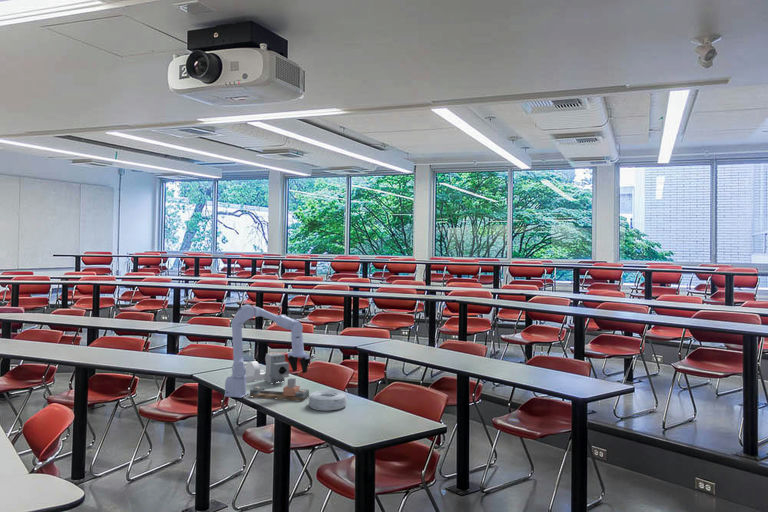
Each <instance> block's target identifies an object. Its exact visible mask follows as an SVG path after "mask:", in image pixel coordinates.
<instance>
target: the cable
mask: <svg viewBox="0 0 768 512" xmlns="http://www.w3.org/2000/svg"><path fill="white" fill-rule="evenodd" d="M308 399H309V400H308V406H309V407H310V409H313V410H316V411H325V412H326V411H334V410H335V411H336V410H337V411H338V410H340V409H344V408H345V407H346V405H347V403H348V399H347V395H346V393H345V391H342V390H339V389H330V388H329V389H328V388H327V389H322V390H321V389H320V390H317V391H313V392H312V393H309V397H308Z"/></svg>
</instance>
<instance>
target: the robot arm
mask: <svg viewBox="0 0 768 512" xmlns="http://www.w3.org/2000/svg"><path fill="white" fill-rule="evenodd" d="M253 317H255V318H257V317H262V318H265V319H268V320H270V321H273V322H275V325H276V326H278V327H281V328H283V329H285V330H290V332H291V333H290V334H291V335H290V340H291V351H290V352H287V362H288V363H289V366H291V369H292V370H291V371H292V373H293V372H297V371H298V360H299V363H300V365H301V366H300V367H301V373H302V374H306V373H307V372H308V367H309V363H310V361H311V358H310V357H311V356H310V354H309V353H306V351H305V348H304V346H305V345H304V335H303V329H304V327H303V324H302V323H301V322H300V321H299V320H297V319H295V318H292V317H288V316H287V315H286V314H279V315H277V314H275V313H273V312H270V311H267V310H265V309H264V308H261V307H259V306H255V305H251V304H243V305H242V306H241V307H239V308H238V309H237V312H236V314H235V315H234V316H233V319H231V333H232V355H233V364H232V365H231V366H232V367H231V371H232V372H231V373H232V374H231V375H230V376H227V377H226V379H225V383H224V395H223V396H224V397H227V398H228V397H230V398H239V399H240V398H241V399H243V398H244V397H246V396H248V395H250V392H247V383H246V375H245V374H246V369H245V368H246V364H245V363H244V353H243V351H244V350H243V349H244V348H243V329H242V325H244V323H245V322H246V321H248V320H251V319H252V318H253ZM247 394H248V395H247ZM243 395H244V397H243ZM245 395H246V396H245ZM242 397H243V398H242Z"/></svg>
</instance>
